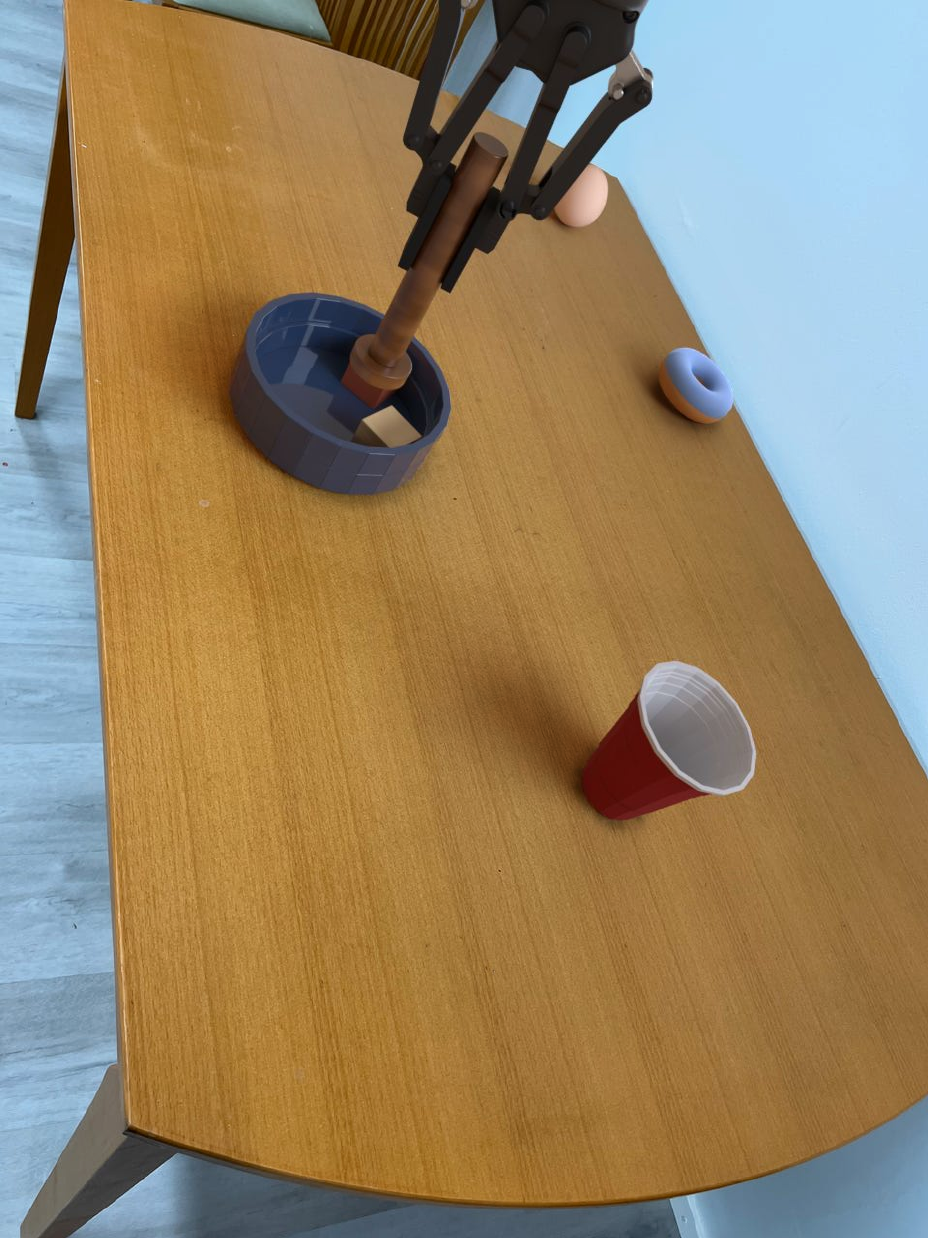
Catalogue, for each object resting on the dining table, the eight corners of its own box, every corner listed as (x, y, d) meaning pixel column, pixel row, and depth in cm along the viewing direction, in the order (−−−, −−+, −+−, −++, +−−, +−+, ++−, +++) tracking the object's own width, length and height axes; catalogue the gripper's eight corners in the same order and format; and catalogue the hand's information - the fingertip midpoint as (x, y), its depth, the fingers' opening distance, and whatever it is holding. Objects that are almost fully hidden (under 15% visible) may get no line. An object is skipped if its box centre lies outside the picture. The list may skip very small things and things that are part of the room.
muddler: (338, 348, 70) (444, 117, 57) (385, 343, 72) (496, 122, 60) (369, 393, 68) (486, 167, 56) (416, 386, 71) (537, 169, 59)
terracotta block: (340, 382, 90) (354, 351, 87) (363, 365, 93) (378, 334, 90) (373, 409, 90) (389, 379, 87) (395, 392, 93) (411, 362, 90)
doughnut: (727, 405, 120) (751, 379, 117) (706, 444, 113) (730, 417, 110) (663, 355, 120) (686, 328, 116) (638, 391, 113) (661, 363, 110)
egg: (535, 200, 126) (566, 146, 121) (574, 206, 130) (605, 155, 124) (556, 236, 124) (589, 183, 118) (595, 241, 128) (628, 190, 122)
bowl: (198, 438, 80) (215, 387, 76) (263, 312, 92) (281, 261, 87) (402, 531, 85) (430, 488, 80) (439, 399, 96) (465, 355, 92)
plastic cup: (685, 848, 80) (784, 790, 71) (577, 856, 74) (668, 795, 66) (645, 727, 85) (732, 660, 76) (541, 728, 80) (621, 655, 71)
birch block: (345, 449, 86) (361, 418, 83) (375, 434, 89) (391, 404, 86) (376, 481, 86) (393, 451, 83) (405, 465, 88) (422, 436, 85)
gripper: (750, -50, 52) (534, 292, 69) (493, -225, 48) (333, 184, 65) (756, 1, 47) (523, 354, 64) (472, -188, 43) (305, 242, 60)
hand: (427, 268), depth 65 cm, fingers closed on muddler, 2 cm apart
